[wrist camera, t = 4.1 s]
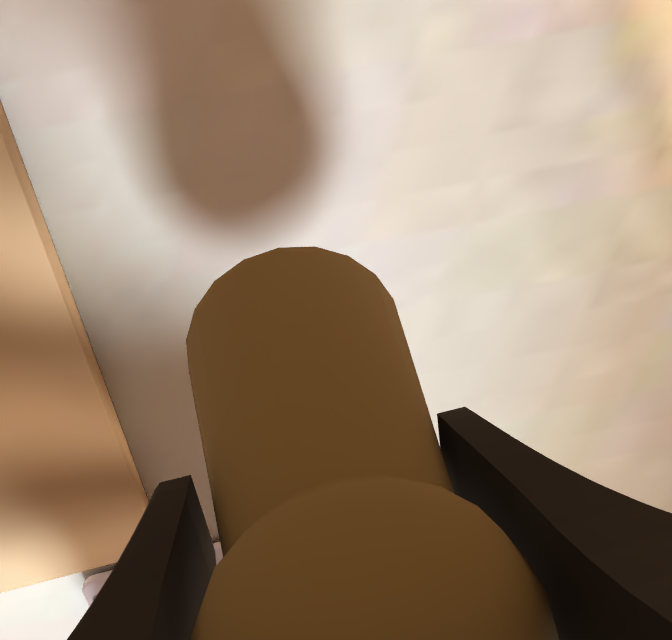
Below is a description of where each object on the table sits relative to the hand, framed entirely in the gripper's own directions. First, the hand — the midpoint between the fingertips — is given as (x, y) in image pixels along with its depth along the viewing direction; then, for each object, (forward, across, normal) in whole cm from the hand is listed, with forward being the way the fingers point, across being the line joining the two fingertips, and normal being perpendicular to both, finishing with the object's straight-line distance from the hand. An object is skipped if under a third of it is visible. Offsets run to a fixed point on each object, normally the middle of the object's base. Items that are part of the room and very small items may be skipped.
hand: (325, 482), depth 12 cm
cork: (+5, 0, 0) cm, 5 cm away
